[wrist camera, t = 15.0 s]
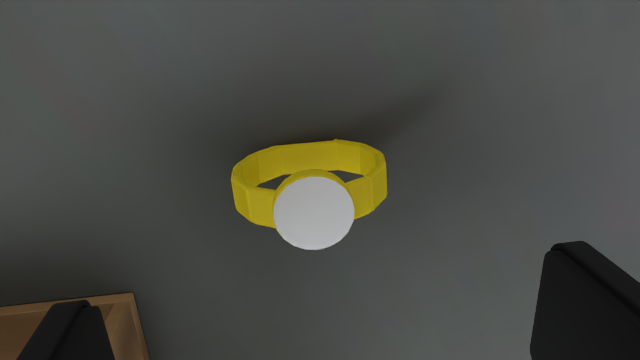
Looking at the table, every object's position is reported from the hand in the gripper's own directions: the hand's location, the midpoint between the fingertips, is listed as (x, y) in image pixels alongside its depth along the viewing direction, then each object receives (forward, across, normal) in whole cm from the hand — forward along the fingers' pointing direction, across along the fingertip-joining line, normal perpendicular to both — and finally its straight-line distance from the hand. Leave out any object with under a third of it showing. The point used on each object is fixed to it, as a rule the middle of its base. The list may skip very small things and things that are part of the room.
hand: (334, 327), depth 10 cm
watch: (+12, 0, 0) cm, 12 cm away
